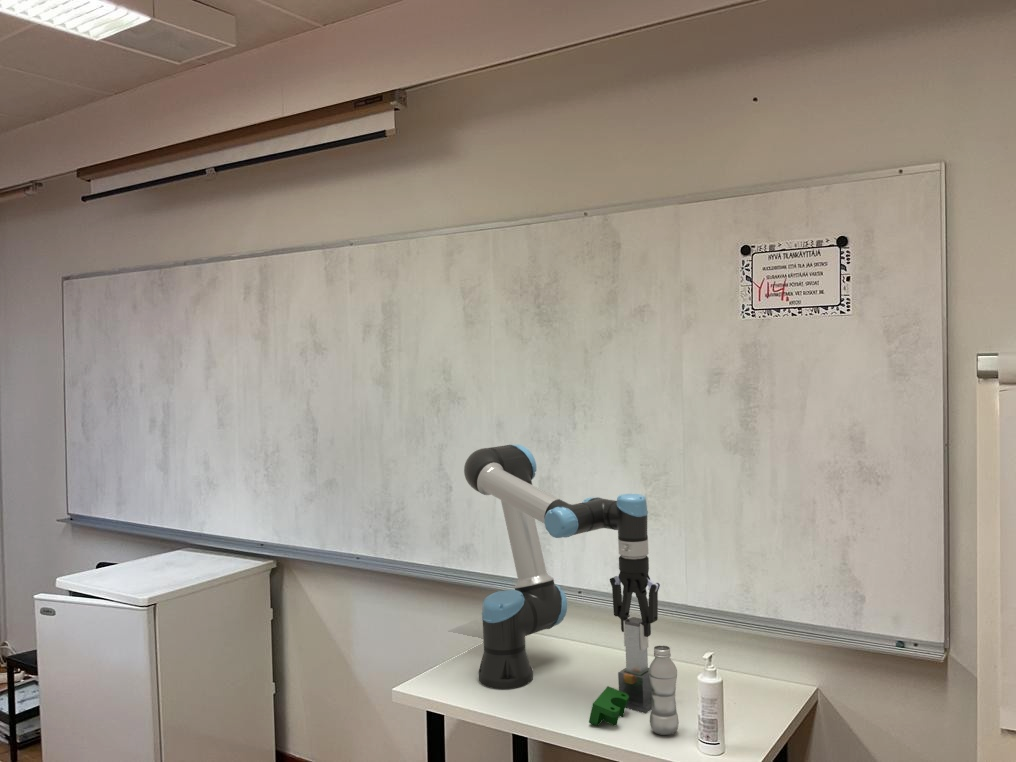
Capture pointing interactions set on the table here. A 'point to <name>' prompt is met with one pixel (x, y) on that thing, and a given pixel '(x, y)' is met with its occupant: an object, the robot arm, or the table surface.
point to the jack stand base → (636, 690)
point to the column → (635, 648)
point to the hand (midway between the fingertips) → (636, 646)
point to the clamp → (608, 707)
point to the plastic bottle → (663, 692)
